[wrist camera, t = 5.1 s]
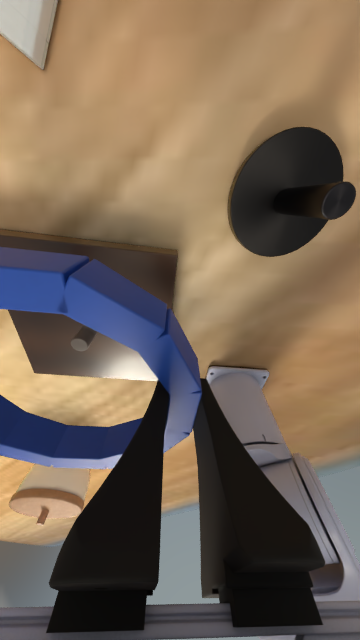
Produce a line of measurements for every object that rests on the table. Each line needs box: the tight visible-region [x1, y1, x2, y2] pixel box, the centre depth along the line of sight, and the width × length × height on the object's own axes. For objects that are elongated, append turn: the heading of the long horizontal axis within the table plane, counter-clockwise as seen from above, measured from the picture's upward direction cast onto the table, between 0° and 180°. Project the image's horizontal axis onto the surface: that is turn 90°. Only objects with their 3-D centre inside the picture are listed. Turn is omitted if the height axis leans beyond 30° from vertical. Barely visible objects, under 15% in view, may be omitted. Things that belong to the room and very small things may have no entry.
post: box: [228, 127, 356, 257], centre depth 12 cm, size 8×8×6 cm
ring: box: [0, 247, 202, 469], centre depth 11 cm, size 15×15×2 cm
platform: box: [0, 229, 178, 381], centre depth 18 cm, size 15×15×5 cm
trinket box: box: [9, 464, 90, 525], centre depth 32 cm, size 11×11×9 cm
